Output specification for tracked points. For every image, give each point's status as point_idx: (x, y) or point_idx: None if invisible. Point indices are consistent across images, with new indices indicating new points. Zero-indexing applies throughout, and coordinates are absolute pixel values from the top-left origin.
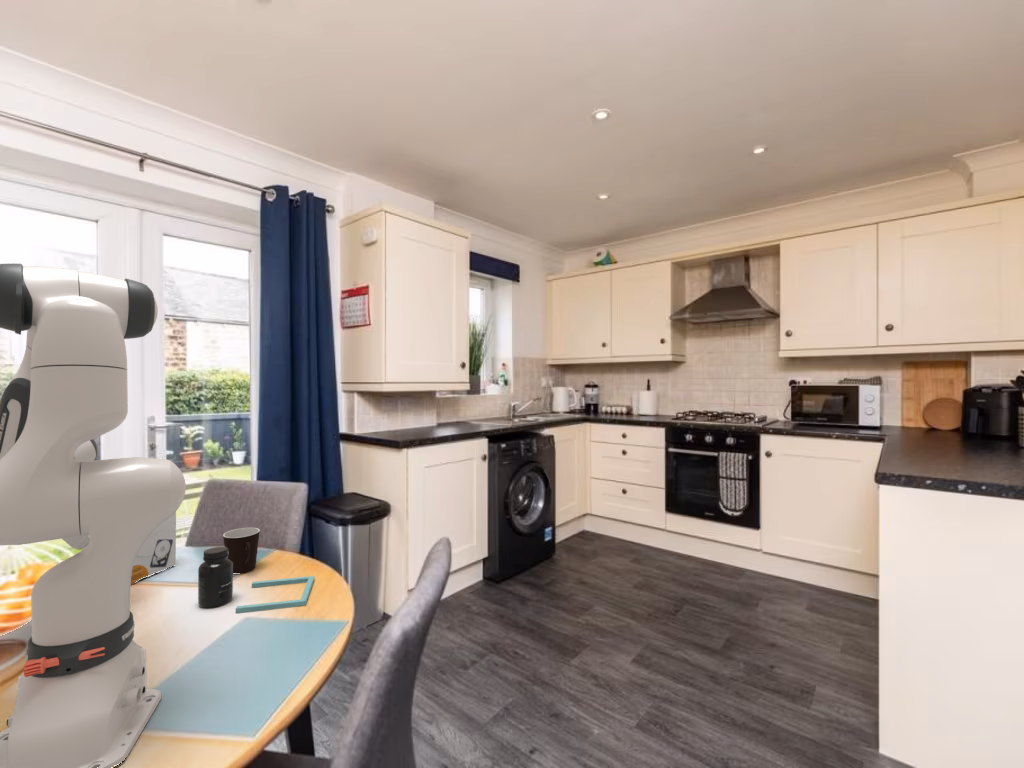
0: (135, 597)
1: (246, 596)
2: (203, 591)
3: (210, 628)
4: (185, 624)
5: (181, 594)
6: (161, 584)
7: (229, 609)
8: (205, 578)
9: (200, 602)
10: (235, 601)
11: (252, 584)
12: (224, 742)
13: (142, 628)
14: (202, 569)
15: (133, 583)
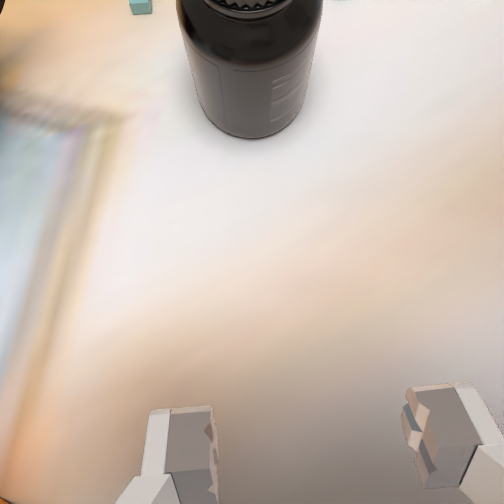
0: None
1: None
2: (307, 77)
3: (443, 35)
4: (407, 119)
5: (158, 240)
6: (33, 371)
7: None
8: (317, 35)
9: (295, 112)
10: None
11: (149, 1)
12: None
13: (418, 242)
14: (311, 26)
15: (2, 500)
